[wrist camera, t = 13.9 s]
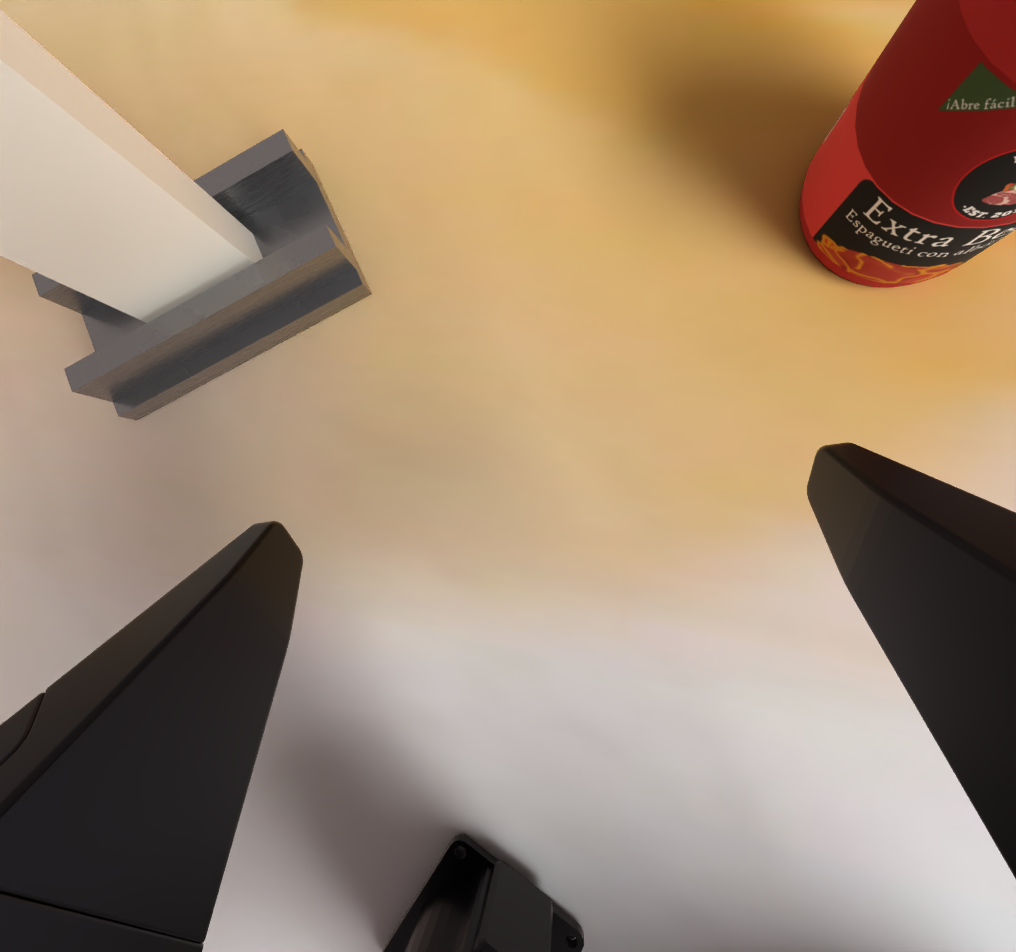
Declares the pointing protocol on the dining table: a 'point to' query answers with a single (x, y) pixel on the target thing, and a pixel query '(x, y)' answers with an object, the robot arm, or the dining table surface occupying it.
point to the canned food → (921, 150)
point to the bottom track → (226, 289)
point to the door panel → (101, 195)
